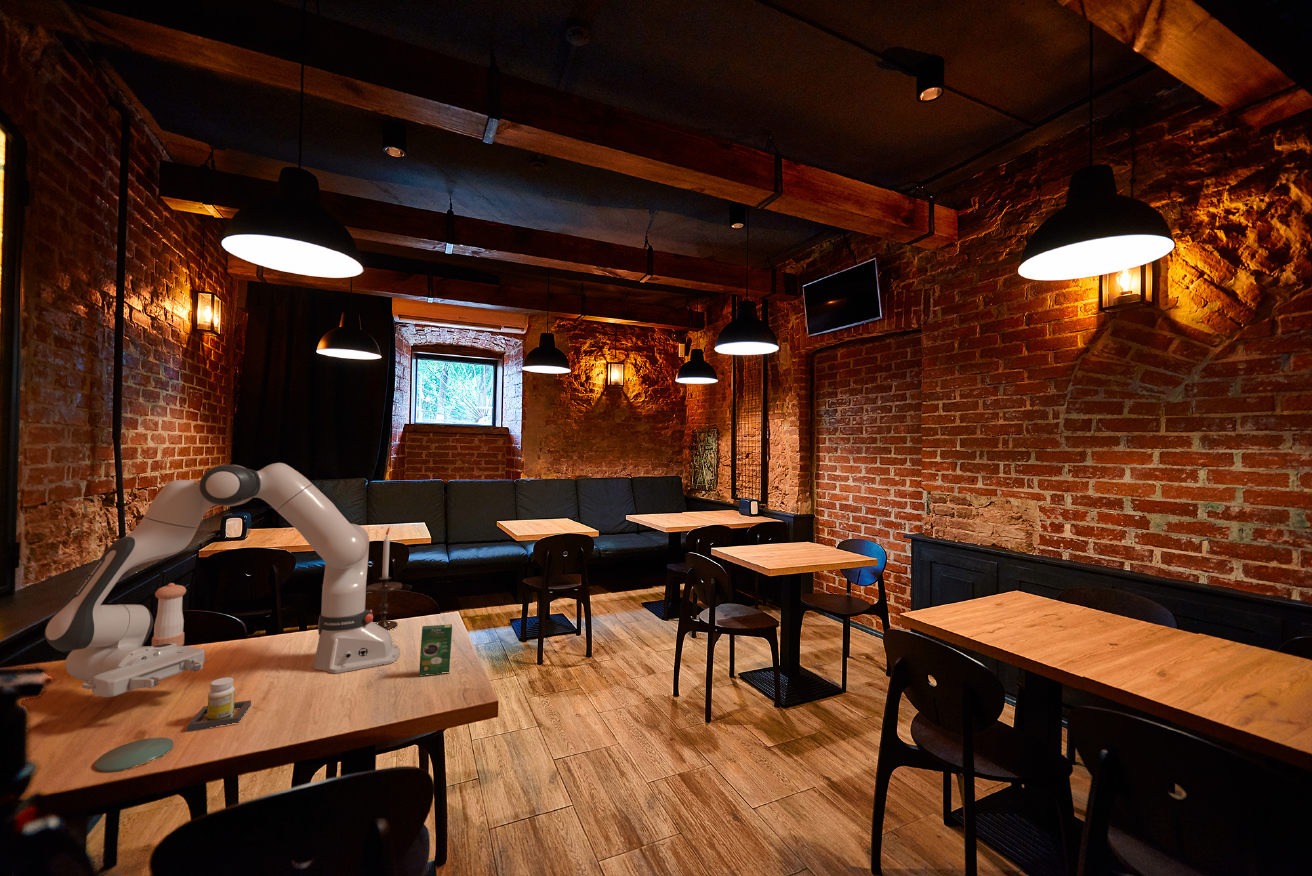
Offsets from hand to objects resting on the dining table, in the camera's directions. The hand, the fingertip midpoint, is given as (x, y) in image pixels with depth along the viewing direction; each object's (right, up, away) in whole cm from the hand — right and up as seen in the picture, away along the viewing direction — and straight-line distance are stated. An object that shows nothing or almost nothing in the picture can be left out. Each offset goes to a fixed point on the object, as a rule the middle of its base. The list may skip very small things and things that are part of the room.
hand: (178, 674), depth 122 cm
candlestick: (+16, -11, +61) cm, 64 cm away
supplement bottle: (+12, -9, -3) cm, 15 cm away
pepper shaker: (-38, -9, +39) cm, 55 cm away
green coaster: (+8, -8, -18) cm, 21 cm away
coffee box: (+49, -11, +24) cm, 56 cm away
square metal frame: (+12, -9, -3) cm, 15 cm away
